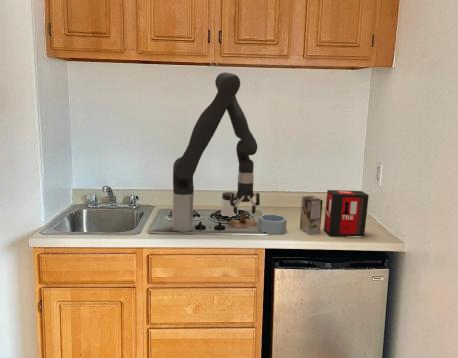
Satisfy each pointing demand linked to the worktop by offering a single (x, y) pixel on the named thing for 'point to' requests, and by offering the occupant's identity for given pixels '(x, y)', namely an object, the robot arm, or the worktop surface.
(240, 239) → the worktop surface
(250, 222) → the lid
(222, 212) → the jar
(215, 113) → the robot arm
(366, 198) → the cleaning product box
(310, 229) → the coffee box
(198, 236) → the worktop surface
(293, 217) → the worktop surface
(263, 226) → the bowl
